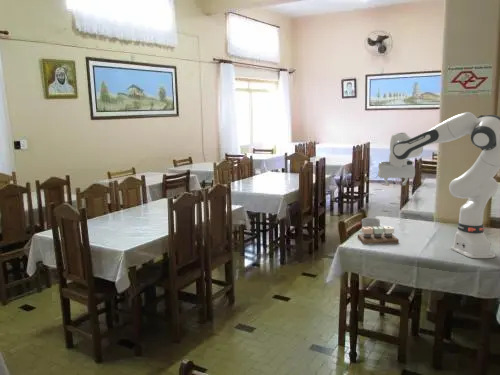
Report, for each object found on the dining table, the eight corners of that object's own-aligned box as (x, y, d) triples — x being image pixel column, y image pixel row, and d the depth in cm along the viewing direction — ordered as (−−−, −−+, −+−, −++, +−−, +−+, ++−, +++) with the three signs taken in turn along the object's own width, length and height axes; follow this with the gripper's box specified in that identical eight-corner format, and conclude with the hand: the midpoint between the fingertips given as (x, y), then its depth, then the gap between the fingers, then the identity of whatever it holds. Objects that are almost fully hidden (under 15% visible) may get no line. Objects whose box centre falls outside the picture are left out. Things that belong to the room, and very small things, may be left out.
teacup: (380, 235, 262) (380, 222, 261) (361, 234, 265) (362, 221, 263) (378, 228, 276) (378, 216, 274) (360, 228, 278) (360, 216, 277)
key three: (372, 237, 249) (373, 228, 249) (364, 237, 249) (364, 228, 248) (370, 234, 254) (370, 226, 254) (361, 234, 254) (362, 226, 253)
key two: (383, 236, 250) (383, 228, 249) (374, 237, 249) (375, 228, 249) (380, 234, 254) (380, 226, 254) (372, 234, 254) (372, 226, 254)
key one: (393, 236, 250) (394, 228, 249) (385, 236, 250) (385, 228, 249) (390, 234, 255) (391, 225, 254) (382, 234, 255) (382, 226, 254)
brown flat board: (398, 242, 247) (398, 239, 246) (363, 243, 246) (363, 240, 246) (391, 236, 259) (391, 233, 258) (357, 237, 258) (357, 234, 258)
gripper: (380, 162, 245) (379, 186, 248) (417, 162, 246) (415, 186, 248) (377, 160, 252) (375, 184, 254) (412, 160, 252) (411, 184, 255)
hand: (395, 185), depth 251 cm, fingers open, 8 cm apart
